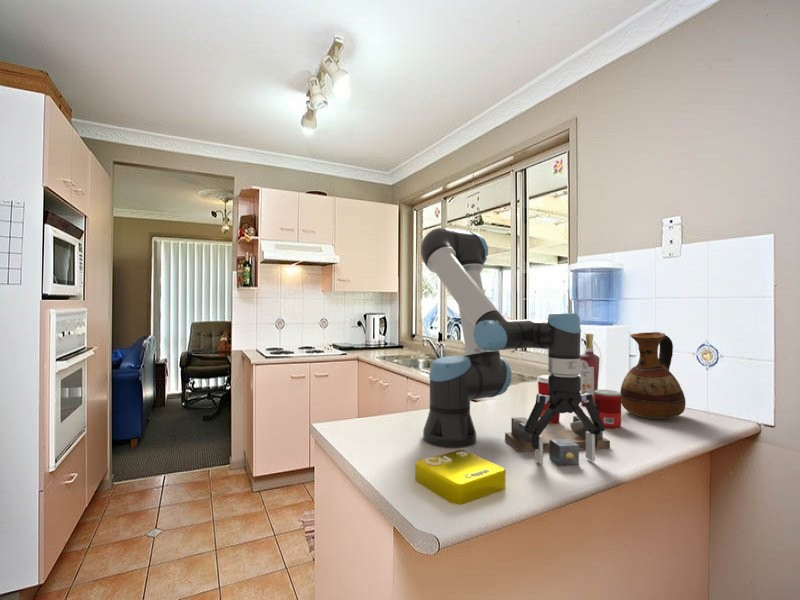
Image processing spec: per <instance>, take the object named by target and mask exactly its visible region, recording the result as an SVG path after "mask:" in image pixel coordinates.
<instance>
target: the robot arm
mask: <svg viewBox="0 0 800 600" xmlns="http://www.w3.org/2000/svg"><path fill="white" fill-rule="evenodd" d="M488 255H489V247H488V244H487V241H486V238H485V237H483V236H482V235H481V234H480V233H477V232H473V231H471V230H460V229H453V228H447V227H438V228H434V229H432V230H430V231H429V232H427V234H426V235H425V236H424V238H423V239H422V242H421V245H420V256H421V260H422V261H423V263H424V264H425V266H426V268H427V269H428V270H429V271H430V272H431V273H434V274H436V276H437V277H438V278H439V280H440V281H441V282H442V284H443V285H444V287H445V288H446V289H447V291H448V292H449V293H450V295H451V297H452V298H453V300H454V301H455V302H456V303H457V306H458V311H459V317H460V322H461V323H460V324H461V329H462V335H463V341H464V347H465V350H464V352H463V354H462V355H452V356H451V355H448V356H442V357H438V358H436V359H434V360H433V361H432V362H431V364H430V365H429V366H430V368H429V375H428V377H429V412H428V415H427V418H426V421H425V425H424V428H423V431H422V433H423V434H422V435H423V437H422V438H423V440H424V441H425V442H426V443H427V444H430V445H433V446H436V447H437V446H438V447H440V448H441V447H443V448H465V447H469V446H472V445H474V444H475V443H476V441H477V432H476V429H475V428H476V427H475V425H474V421H473V419H472V415H471V401H472V400H479V399H486V398H495V397H496V396H500V395H503V394H504V393H506V392H507V391H508V388H509V387H510V386H511V382H512V379H513V377H512V370H511V369H512V368H511V366H510V364H509V363H508V362H507V360H505V359H504V358H502V357H501V353H500V352H501V351H504V350H505V351H506V350H517V349H518V350H520V349H540V350H541V349H543V350H547V351H548V352H547V354H548V357H547V358H548V359H547V360H548V362H547V364H548V365H547V366H548V367H547V371H548V373H550V374H549V376H548V388H549V394H548V396H546V395H541V394H539V393H537V394H536V399H535V404H534V406H533V408H532V411H531V412H530V414H529V416H528V418H527V419H528V421H527V423H526V425H525V427H524V430H525V431H526V432H527V433H529V434H531V435H532V447H533V448H534V449H535V451H534V460H535V461H536V463H538V464H539V465H543V464H544V451H543V437H542V436H541V435H540V434H541V433H542V431H545V429H546V428H547V426H548V425H550V424H549V422H550V421H551V420H552V418H553V417H554V416H555V415H557V414H558V412H559V413H560V414H565V413H567V414H575V416H578V418H579V419H580V420H581V421H582V423H583V424H584V425H585V426H586V427H587V429H588V430H589V431H590V432H586V449H585V458H586V459H587V460H590V461H591V462H596V461H595V460H596V449H595V446H597V435H600V431H603V432H604V431H606V428H605V427H604V424H603V422H602V420H601V418H600V416H599V414H598V412H597V410H596V408H595V405H594V403H593V396H592V395H591V394H588V393H583V394H581V378H580V373H581V368H580V356H581V336H582V335H581V333H582V329H581V320H580V319H581V318H580V316H579V314H578V313H576V312H574V313H573V312H550V313H549V314H548V315H547V316H548V317H547V320H542V319H540V320H539V319H526V318H525V319H524V318H523V319H513V320H512V319H509V320H508V319H506V318H505V317H504V316H503V315H502V314H501V312H500V311H499V310H498V309H497V308H496V306H495V305H494V304H493V302H491V300H490V298H489V297H487V295H486V293H485V292H484V288H483V282H482V277H481V273H482V271H483V270H484V268H485V267H484V266H485V265H484V264H485V263H486V262H487V260H488V258H487V257H488ZM581 400H582V402H584V405H585V406H584V407H585V409H586V411H587V413H588V417H590V418H591V419H592V422H593V423H592V422H591V421H590V419H589V418H588V417H587V415H586V413H585V412H584V410H583V409H582V408H581V406H580V404H581V403H580V402H581ZM547 401H549V403H550V404H549V406H548V407H547V408H546V411H545V413H544V414H543V415H542V416H541V413H542V411H543V409H544V406H545V404H547ZM553 408H554V409H553ZM540 416H541V418H540Z"/></svg>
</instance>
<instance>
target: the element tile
mask: <svg viewBox="0 0 800 600" xmlns="http://www.w3.org/2000/svg"><path fill="white" fill-rule="evenodd" d="M414 466H415V467H414V468H415V469H414V471H415V473H414V480H415V482H417V483H418V484H419V485H421V486H422V487H424V488H426V489H427V490H429V491H431V492H432V493H434V494H436V495H437V496H439V497H440V498H441V499H444V500H445V501H447V502H448V503H450V504H454V505H464V504H467V503H471V502H474V501H476V500H478V499H481V498H484V497H488V496H491V495H493V494H496V493H500V492H502V491H505V490H506V475H507V474H506V469H505V468H503V466H500V465H498V464H496V463H494V462H491V461H489V460H487V459H484V458H482V457H480V456H478V455H475V454H474V453H471V452H469V451H466V450H464V449H459V450H455V451H451V452H446V453H441V454H438V455H434V456H430V457H426V458H422V459H418V460H416V461H415V465H414Z"/></svg>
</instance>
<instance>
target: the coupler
mask: <svg viewBox="0 0 800 600" xmlns="http://www.w3.org/2000/svg"><path fill="white" fill-rule="evenodd" d="M548 453H549V458H548V459H549V460H550V461H551V462H553V463H554V464H556V465H557V466H558V467H573V466H575V467H576V466H580V449H579V445H578V444H576V443H574V442H573V441H571V440H569V439H550V446H549V451H548Z"/></svg>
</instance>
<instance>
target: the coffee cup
mask: <svg viewBox="0 0 800 600" xmlns="http://www.w3.org/2000/svg"><path fill="white" fill-rule="evenodd" d="M549 375H550V374H549ZM549 375H547V374H543V375H542V374H541V375H539V376H538V377H537V379H536V380H535V381H536V382H537V388H538V389H537V391H538V394H541V395H546V396H548V394H549V388H548V376H549ZM549 404H550V403H549V401H547V404H545V406H544V409H543V411H542V413H541V416H542V415H543V414H544V413H545V411H546V408H547V407H548V406H549ZM553 409H554V408H553ZM560 414H561V413H559V412H558V414H557V415H555V416H554V417H553V418H552V420H551V421H550V422H549V424H548V425H558V424H559V423H560V416H561V415H560ZM541 416H540V418H541ZM540 418H539V419H540Z"/></svg>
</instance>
